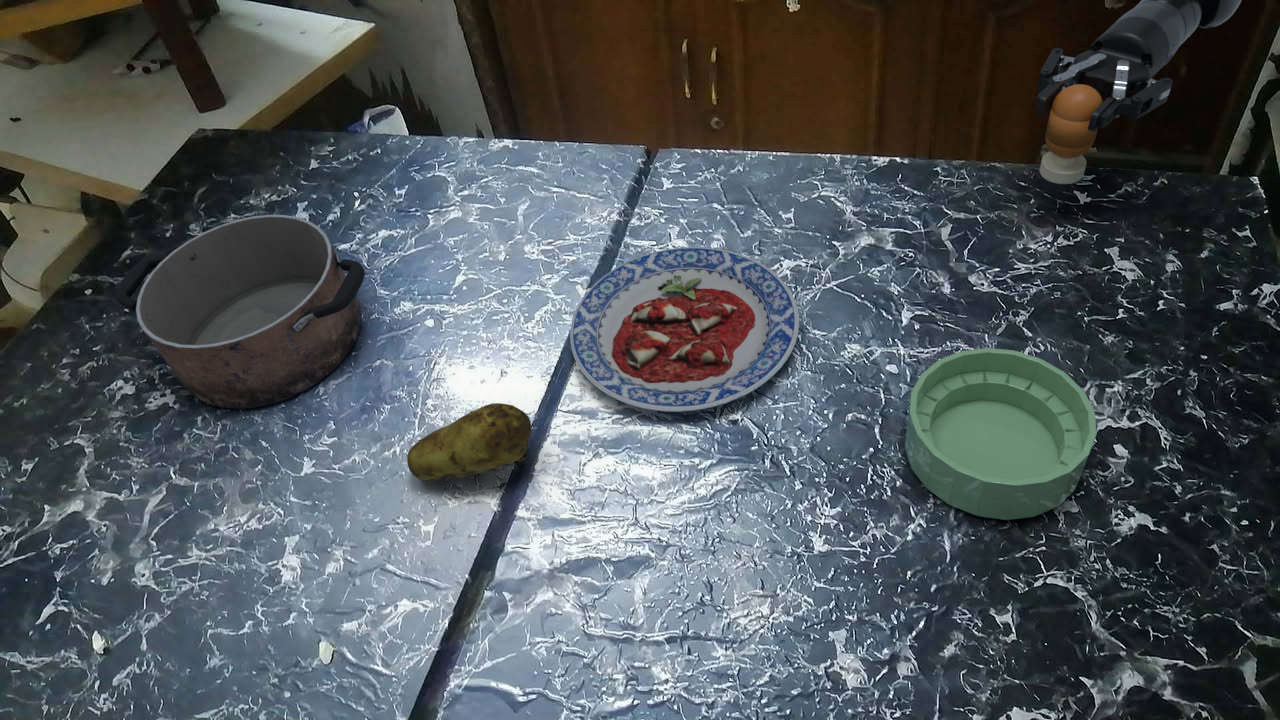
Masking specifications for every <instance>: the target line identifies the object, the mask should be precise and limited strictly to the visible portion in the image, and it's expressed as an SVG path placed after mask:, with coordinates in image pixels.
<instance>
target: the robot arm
mask: <svg viewBox="0 0 1280 720" xmlns="http://www.w3.org/2000/svg"><path fill="white" fill-rule="evenodd" d="M1242 1H1243V0H1140V2H1139V3H1137V4H1136V5H1135V6H1134V7H1133V8H1132V9H1130V10H1128V11H1127V12H1125V13H1124V14H1123V15H1121V16H1120V17H1119V18H1118V19H1117V20H1116V21H1115V22H1114V23H1113V24H1112V25H1111V26H1110V27H1109V28H1107V30H1105V31H1104V33H1102V34H1101V35H1099V37H1098V38H1097V39H1096V40H1094V42H1093V43H1092V45H1091V46H1090V47H1089V48H1088V50H1086V51H1084V52H1083V53H1082V52H1081V53H1079V54H1077V55H1075V57H1073V56H1067V55H1064V50H1063V49H1062V48H1059V47H1056V48H1053V49H1052V50H1051V51H1050V53H1049V55H1048V56H1047V58H1046V60H1045V62H1044V64H1043V66H1042V67H1041V69H1040V71H1039V76H1038V81H1037V85H1036V92H1037V93H1038V94H1037V97H1036V103H1035V107H1034V109H1036V114H1037V115H1041V116H1044V115H1046V114H1047V113H1048V112H1049V111H1051V107H1052V103H1053V101H1054V99H1055V97H1056V96H1057V95H1058V94H1059V93H1060V92H1061V91H1062V90H1063V89H1065V88H1067V87H1069V86H1072V85H1076V84H1083V85H1088V86H1091V87H1092V88H1094V89H1095V90H1096V91H1097V92H1098V93H1099V94H1100V96H1101V98H1106V99H1105V100H1103V103H1102V104H1101V105H1100V106H1099V107H1098V108H1097V109H1096V110H1095V111H1094V112H1093V113H1092V115H1091V118H1090V122H1089V126H1088V130H1091V131H1094V132H1095V131H1096V130H1097V129H1098V130H1099V129H1105V128H1106V127H1107V126H1108V125H1110V123H1111V122H1112V121H1113V120H1114V119H1118V118H1119V117H1120V116H1126V117H1125V118H1126V119H1127V120H1128V121H1137V120H1139V119H1140V118H1142V117H1144V116H1145V115H1147V114H1149V113H1150V112H1152V111H1153V110H1155V109H1157V108H1159V107H1160V106H1161V105H1163V104H1165V103H1166V102H1167V101H1168V98H1169V95H1170V92H1171V88H1172V85H1173V82H1174V80H1173V79H1172V78H1170V77H1162V78H1160V79H1159V80H1156V79H1153V77H1155V75H1156V74H1158V72H1159V71H1160V70H1161V69H1162V68H1163V67H1164V66H1165V65H1167V64H1169V62H1171V60H1172V58H1173V57H1174V55H1175V54H1176V52H1177V51H1178V49H1179V48H1180V47H1181V46H1182V45H1183V44H1184V43H1185V42H1186V40H1188V38H1190V37H1191V35H1192V34H1193V33H1194V32H1195V31H1196V30H1197V28H1202V29H1212V28H1215V27H1218V26H1220V25H1222V24H1223V23H1225V22H1226V21H1228V20H1229V19H1230V18H1231V17H1232V16H1233V15H1234V14H1235V12H1236V11H1237V9H1238V8H1239V6H1240V4H1241V3H1242ZM1127 95H1132V96H1131V97H1126V96H1127ZM1098 130H1097V131H1098Z"/></svg>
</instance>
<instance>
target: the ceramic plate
mask: <svg viewBox="0 0 1280 720" xmlns="http://www.w3.org/2000/svg"><path fill="white" fill-rule="evenodd" d="M799 313H800V312H799V309H798V304H797V302H796V299H795V297H794V295H793V293H792V291H791V289H790V288H789V286H788V285H787V284H786V283H785V281H784V280H783V279H782V278H781V276H779V275H778V274H777V273H776V272H775V271H774V270H772V269H770V268H769V267H768V266H766V265H764V264H763V263H761V262H759V261H758V260H756V259H755V258H752V257H749V256H748V255H744V254H740V253H738V252H734V251H730V250H727V249H722V248H716V247H715V248H714V247H708V246H707V247H705V246H686V247H685V246H684V247H673V248H667V249H662V250H661V249H660V250H657V251H656V250H655V251H652V252H649V253H645V254H644V255H641V256H638V257H635V258H633V259H630V260H627V261H625V262H624V263H622V264H620V265H618V266H617V267H615V268H614V269H612V270H610V271H609V272H607V273H606V274H605V275H603V276H602V277H601V278H600V279H598V280H597V281H596V282H595V283H594V284H593V285H592V286H591V287H590V288H589V289H588V290H587V292H586V293H585V294H584V296H583V297H582V298H581V300H580V302H579V303H578V305H577V307H576V309H575V312H574V313H573V317H572V319H571V324H570V331H569V333H570V334H569V337H570V348H571V351H572V355H573V358H574V361H575V362H576V364H577V366H578V368H579V370H580V371H581V372H582V374H583V376H585V378H586V379H587V380H588V381H589V382H590V383H591V384H592V385H594V387H596V388H597V389H599V390H600V391H601V392H603V394H606V395H607V396H609V397H611V398H613V399H615V400H617V401H620V402H622V403H623V404H626V405H629V406H633V407H637V408H640V409H645V410H650V411H658V412H669V413H670V412H672V413H673V412H674V413H675V412H676V413H677V412H678V413H679V412H694V411H700V410H706V409H710V408H714V407H719V406H722V405H725V404H729V403H731V402H733V401H736V400H738V399H741V398H742V397H743V398H744V396H747V395H749V394H751V393H752V392H754V391H755V390H757V389H758V388H760V387H761V386H763V385H765V383H767V382H768V381H769V380H770V379H772V378H773V377H774V376H775V375H776V374H777V372H779V371H780V370H781V369H782V368H783V367H784V364H785V363H786V362H787V361H788V359H789V357H790V356H791V354H792V353H793V350H794V348H795V346H796V342H797V338H798V335H799V330H800V314H799Z"/></svg>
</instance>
